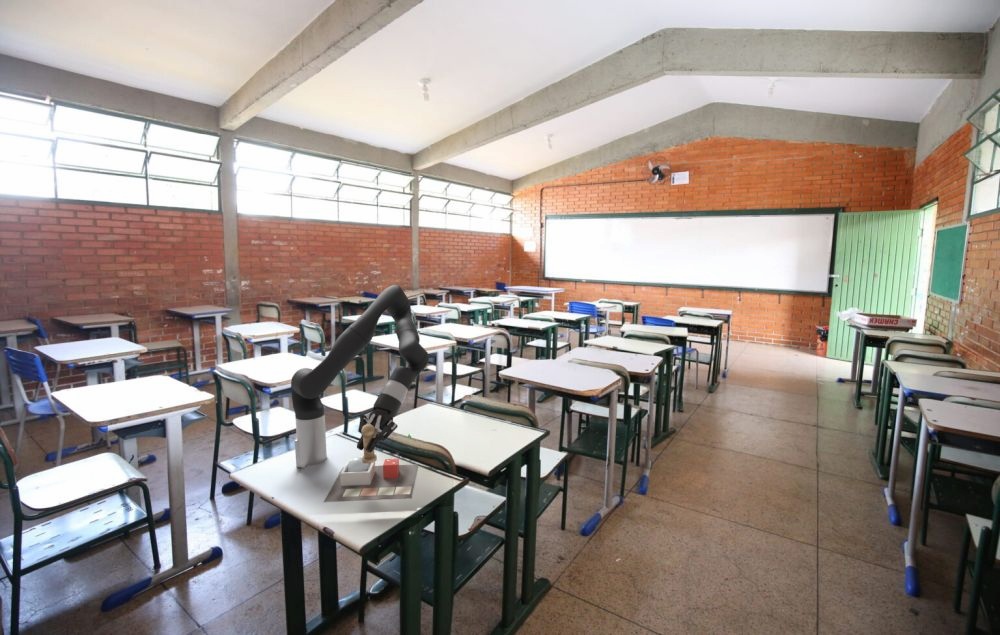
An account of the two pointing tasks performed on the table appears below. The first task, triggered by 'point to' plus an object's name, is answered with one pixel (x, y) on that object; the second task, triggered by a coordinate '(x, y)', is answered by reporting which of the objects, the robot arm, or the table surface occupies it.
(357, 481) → the housing
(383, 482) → the board
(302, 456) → the robot arm
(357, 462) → the white ball
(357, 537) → the table surface
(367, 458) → the pawn
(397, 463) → the die
